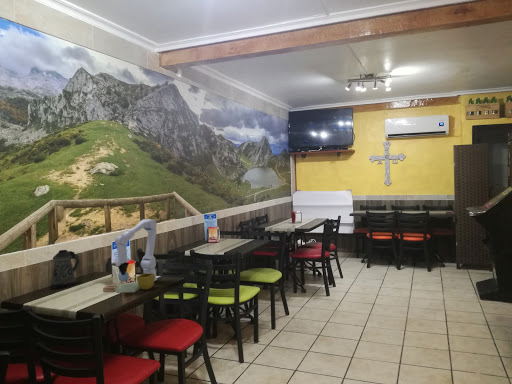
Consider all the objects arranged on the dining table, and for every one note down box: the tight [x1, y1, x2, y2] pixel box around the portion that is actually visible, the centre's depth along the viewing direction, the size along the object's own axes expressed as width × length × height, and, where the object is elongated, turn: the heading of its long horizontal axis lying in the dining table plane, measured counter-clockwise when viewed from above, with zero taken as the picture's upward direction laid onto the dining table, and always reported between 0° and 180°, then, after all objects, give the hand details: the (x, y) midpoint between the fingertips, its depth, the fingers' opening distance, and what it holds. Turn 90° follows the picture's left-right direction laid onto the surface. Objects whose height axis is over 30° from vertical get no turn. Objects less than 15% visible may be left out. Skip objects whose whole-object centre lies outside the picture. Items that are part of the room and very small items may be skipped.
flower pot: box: [136, 272, 155, 290], centre depth 259 cm, size 9×9×9 cm
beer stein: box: [50, 249, 81, 289], centre depth 282 cm, size 16×19×25 cm
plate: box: [117, 271, 130, 283], centre depth 259 cm, size 1×7×7 cm, turn 81°
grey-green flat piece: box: [116, 282, 141, 294], centre depth 259 cm, size 11×13×3 cm
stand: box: [102, 284, 121, 293], centre depth 260 cm, size 6×9×3 cm
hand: (123, 274), depth 259 cm, fingers closed on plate, 1 cm apart
